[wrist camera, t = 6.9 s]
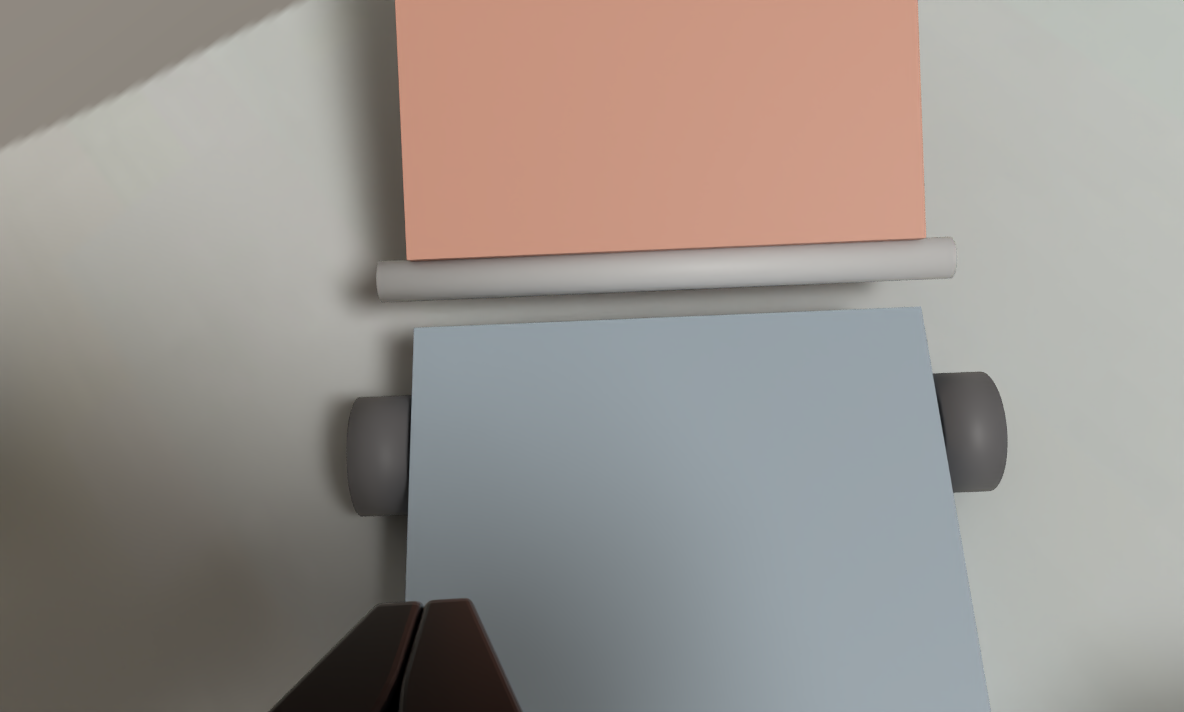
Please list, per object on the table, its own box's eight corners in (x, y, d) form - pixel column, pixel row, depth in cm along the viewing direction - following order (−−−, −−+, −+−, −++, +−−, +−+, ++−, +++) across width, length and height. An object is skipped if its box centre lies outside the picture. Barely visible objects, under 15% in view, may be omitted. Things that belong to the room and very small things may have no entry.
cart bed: (1069, 1036, 19) (1136, 1078, 16) (348, 1063, 19) (308, 1109, 16) (945, 347, 24) (982, 302, 22) (379, 370, 24) (353, 328, 22)
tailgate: (960, 276, 21) (944, -175, 21) (375, 301, 21) (355, -148, 21) (941, 279, 22) (926, -147, 22) (387, 302, 22) (368, -122, 22)
